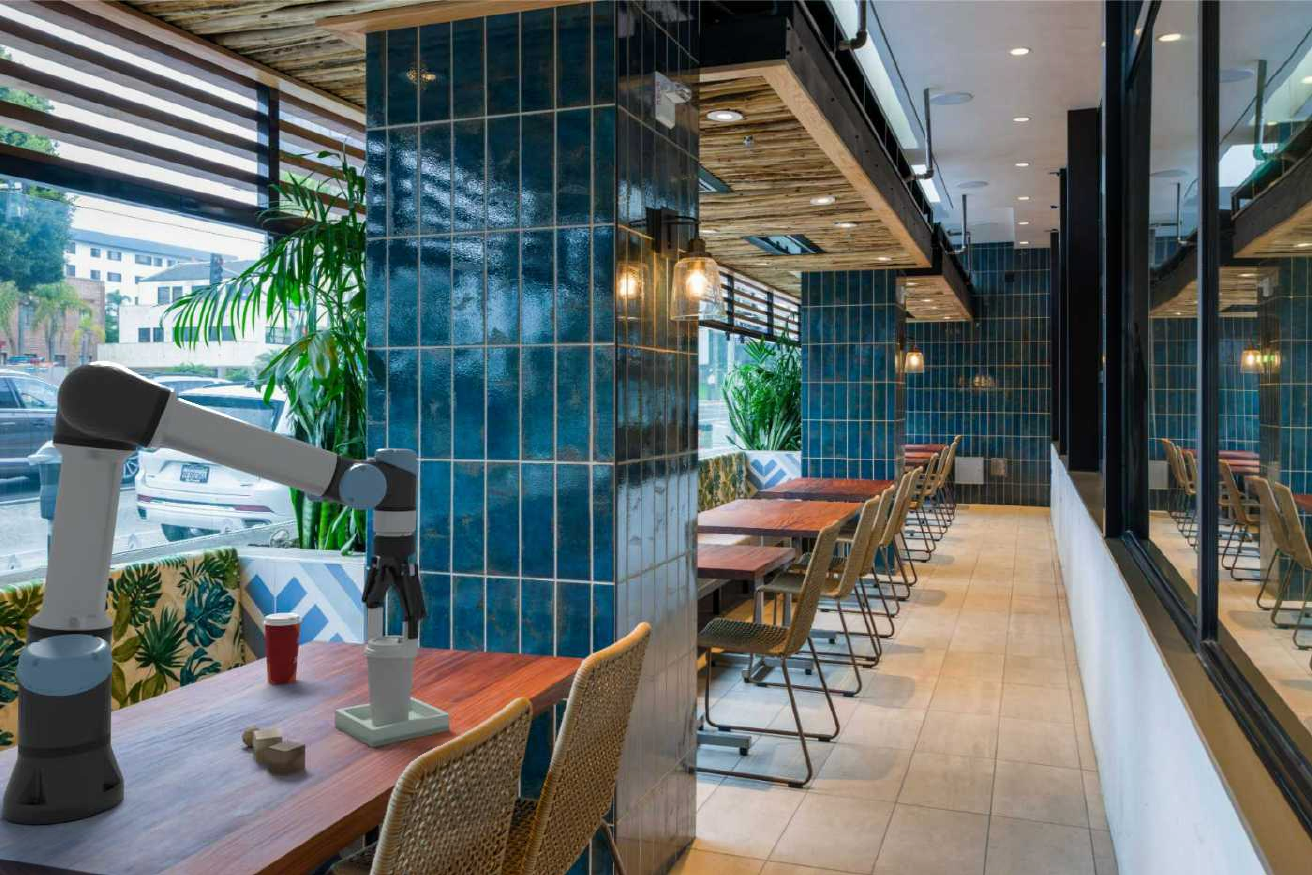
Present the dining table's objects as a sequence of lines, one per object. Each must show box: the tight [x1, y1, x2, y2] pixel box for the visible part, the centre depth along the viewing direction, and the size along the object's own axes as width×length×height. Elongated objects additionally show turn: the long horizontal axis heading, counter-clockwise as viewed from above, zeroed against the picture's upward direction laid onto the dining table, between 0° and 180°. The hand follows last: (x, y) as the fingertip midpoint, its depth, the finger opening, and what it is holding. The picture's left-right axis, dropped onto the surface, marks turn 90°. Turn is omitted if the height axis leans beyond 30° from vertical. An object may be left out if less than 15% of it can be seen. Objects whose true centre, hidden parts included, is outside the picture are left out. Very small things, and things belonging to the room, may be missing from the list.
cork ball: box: [241, 726, 261, 747], centre depth 171 cm, size 3×3×3 cm
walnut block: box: [267, 739, 306, 777], centre depth 160 cm, size 4×4×4 cm
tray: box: [334, 696, 451, 748], centre depth 182 cm, size 15×15×3 cm
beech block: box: [252, 727, 283, 764], centre depth 166 cm, size 4×5×4 cm
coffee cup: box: [363, 635, 416, 727], centre depth 183 cm, size 10×10×15 cm
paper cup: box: [263, 612, 303, 685], centre depth 213 cm, size 8×8×14 cm
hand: (391, 649), depth 182 cm, fingers open, 13 cm apart
